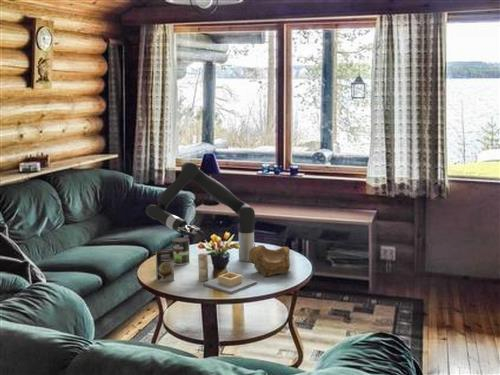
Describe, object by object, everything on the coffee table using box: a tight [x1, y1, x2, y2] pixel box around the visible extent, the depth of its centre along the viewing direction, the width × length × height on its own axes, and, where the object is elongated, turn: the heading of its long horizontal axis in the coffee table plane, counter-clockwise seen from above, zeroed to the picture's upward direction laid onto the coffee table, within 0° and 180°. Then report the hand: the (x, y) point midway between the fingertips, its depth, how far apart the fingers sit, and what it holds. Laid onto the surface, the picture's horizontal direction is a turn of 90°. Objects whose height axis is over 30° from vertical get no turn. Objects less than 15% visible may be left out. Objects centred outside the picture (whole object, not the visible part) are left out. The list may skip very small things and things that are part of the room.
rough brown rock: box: [249, 244, 291, 278], centre depth 310 cm, size 23×17×15 cm
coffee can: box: [171, 236, 190, 266], centre depth 331 cm, size 10×10×14 cm
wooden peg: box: [197, 252, 209, 282], centre depth 301 cm, size 5×5×14 cm
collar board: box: [202, 271, 258, 295], centre depth 294 cm, size 20×20×5 cm
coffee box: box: [155, 248, 175, 283], centre depth 301 cm, size 9×6×16 cm
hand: (199, 235), depth 304 cm, fingers open, 8 cm apart
